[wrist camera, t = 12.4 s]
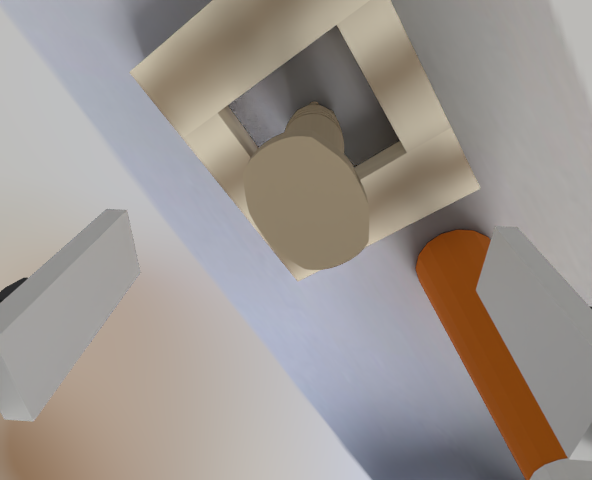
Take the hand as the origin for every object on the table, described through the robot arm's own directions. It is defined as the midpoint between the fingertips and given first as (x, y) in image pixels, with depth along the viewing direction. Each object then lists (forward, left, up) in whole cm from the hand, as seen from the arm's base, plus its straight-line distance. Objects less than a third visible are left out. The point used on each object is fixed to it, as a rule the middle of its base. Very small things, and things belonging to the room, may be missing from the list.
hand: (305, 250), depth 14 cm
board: (0, 0, -18) cm, 18 cm away
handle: (0, 0, -18) cm, 18 cm away
